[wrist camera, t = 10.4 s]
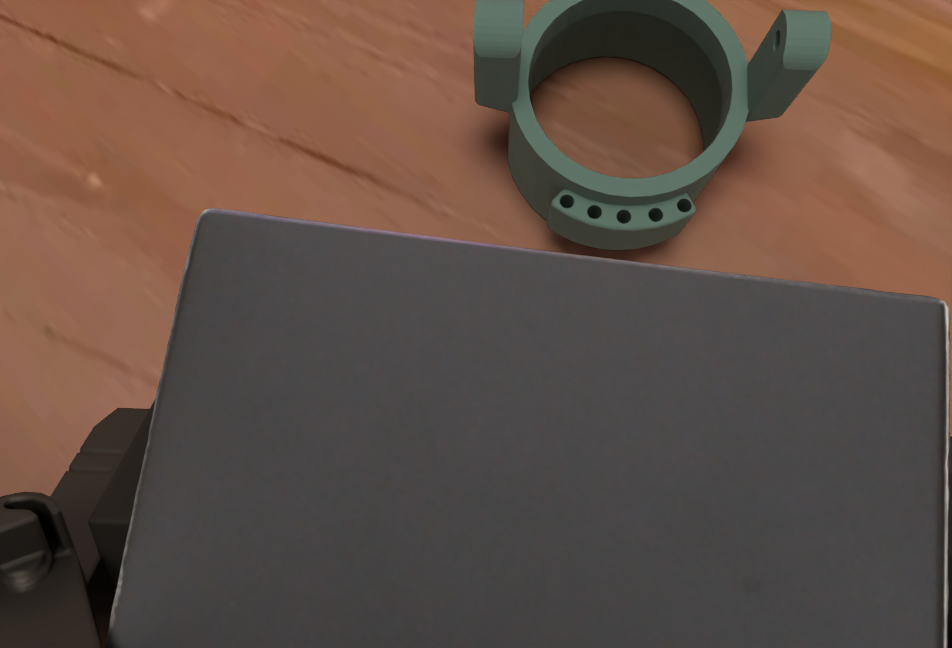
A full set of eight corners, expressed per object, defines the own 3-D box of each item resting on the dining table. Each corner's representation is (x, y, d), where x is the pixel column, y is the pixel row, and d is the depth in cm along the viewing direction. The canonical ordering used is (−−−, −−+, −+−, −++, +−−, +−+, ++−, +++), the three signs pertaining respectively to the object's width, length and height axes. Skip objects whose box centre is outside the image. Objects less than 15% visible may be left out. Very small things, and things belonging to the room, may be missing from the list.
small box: (735, 380, 21) (979, 276, 11) (717, 647, 20) (972, 814, 10) (328, 328, 21) (190, 179, 11) (284, 587, 20) (83, 689, 10)
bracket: (456, 131, 34) (446, 7, 25) (633, 6, 35) (683, -156, 26) (593, 303, 32) (633, 237, 23) (773, 168, 33) (877, 56, 24)
